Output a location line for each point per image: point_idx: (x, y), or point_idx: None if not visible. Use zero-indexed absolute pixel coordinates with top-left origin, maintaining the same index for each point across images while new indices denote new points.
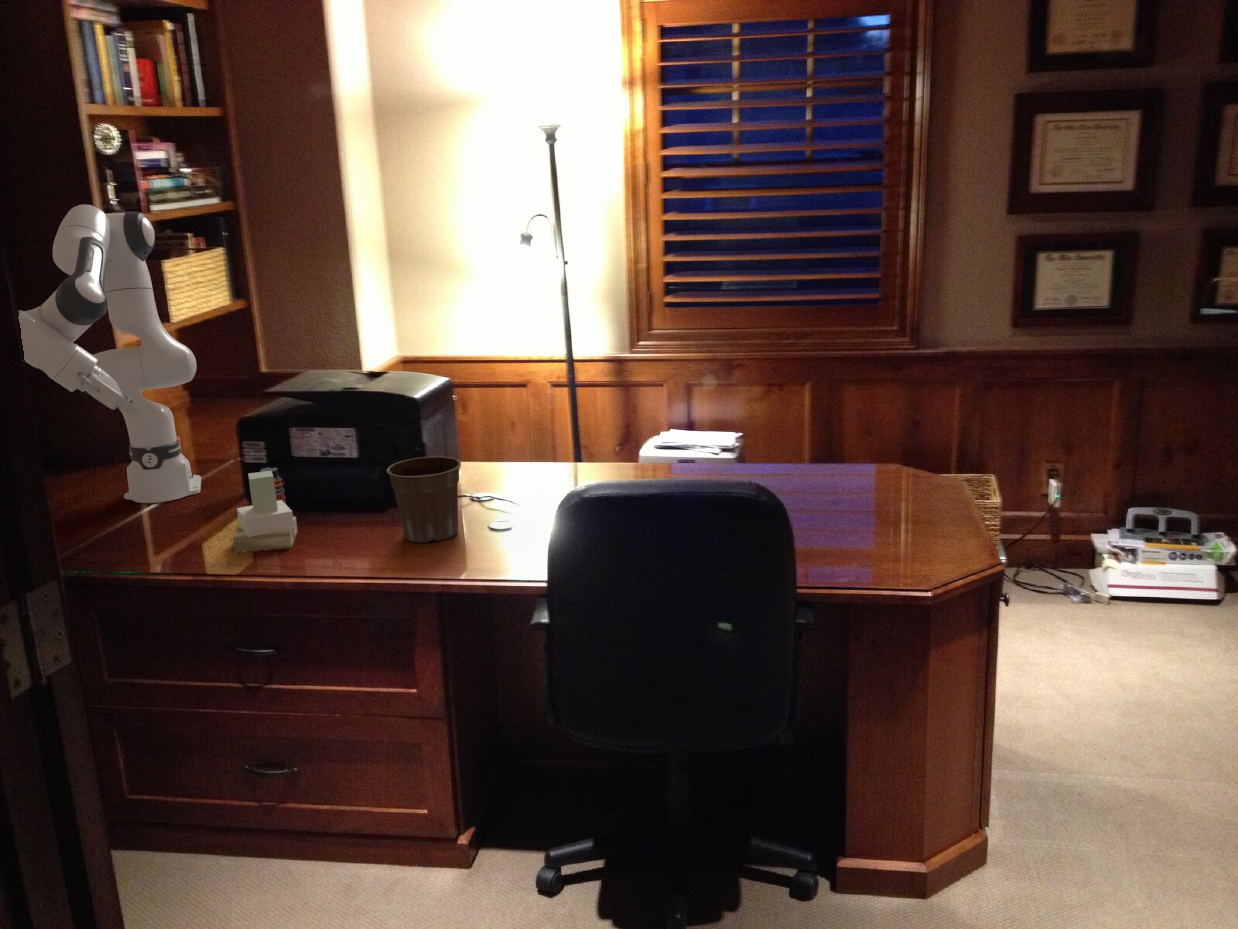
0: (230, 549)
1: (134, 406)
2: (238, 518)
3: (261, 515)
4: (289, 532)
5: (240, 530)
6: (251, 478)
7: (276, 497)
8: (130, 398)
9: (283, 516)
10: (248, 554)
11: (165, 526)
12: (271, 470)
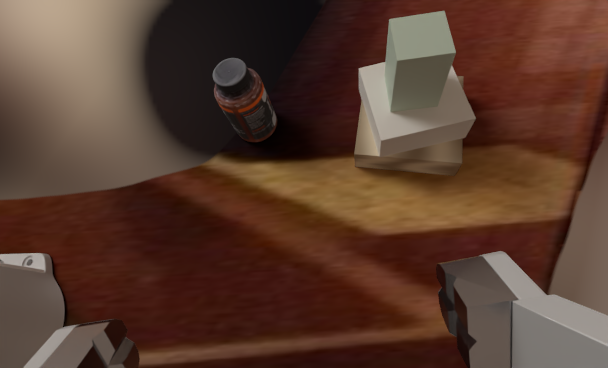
0: (430, 184)
1: (495, 281)
2: (383, 149)
3: (453, 93)
4: (459, 76)
5: (416, 153)
6: (448, 49)
7: (268, 97)
8: (43, 355)
9: None
10: (470, 154)
11: (227, 312)
12: (241, 65)
